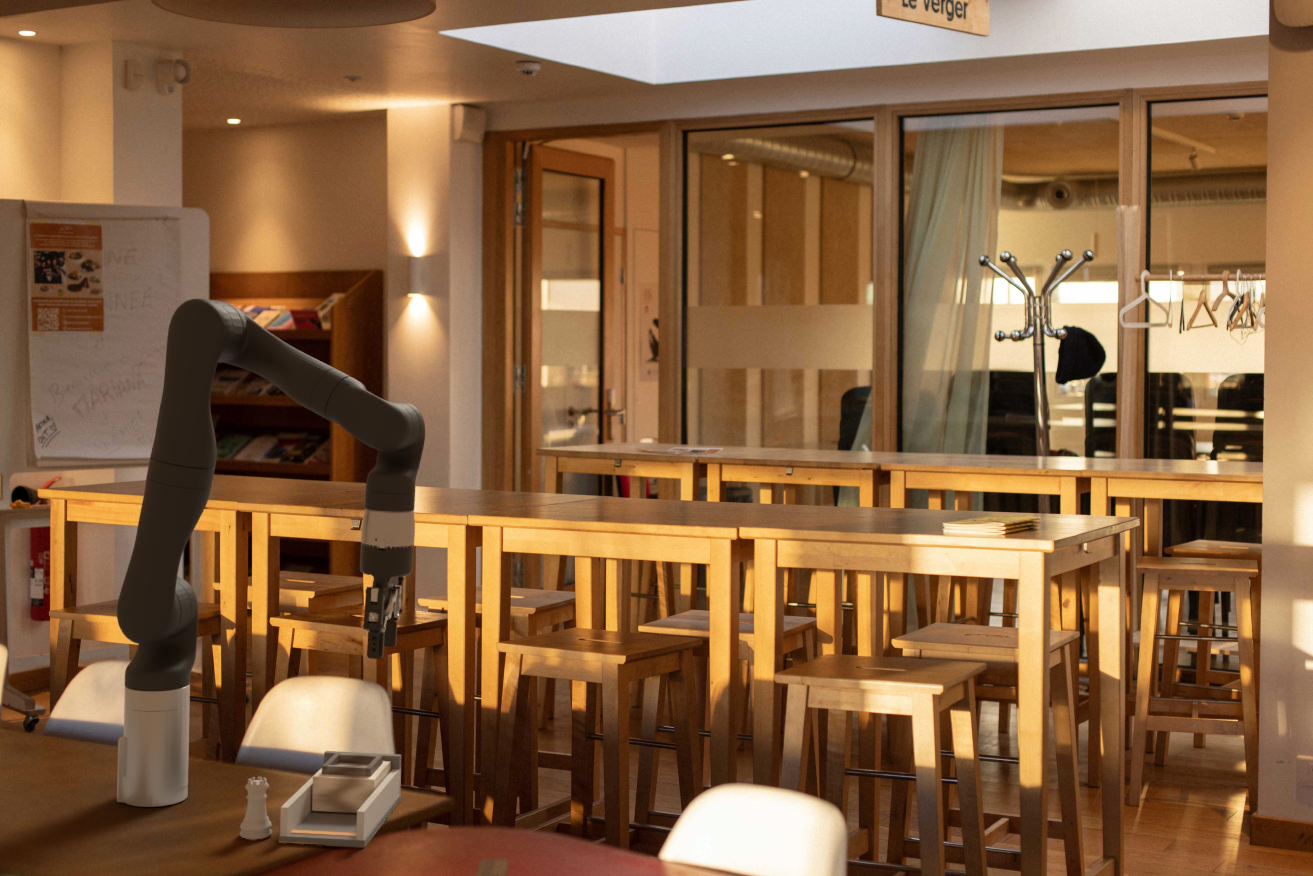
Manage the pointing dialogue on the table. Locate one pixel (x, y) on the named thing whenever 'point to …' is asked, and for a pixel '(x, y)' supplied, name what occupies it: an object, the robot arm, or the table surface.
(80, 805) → the table surface
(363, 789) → the frame
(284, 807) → the crate bay
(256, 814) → the rook chess piece
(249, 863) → the table surface
